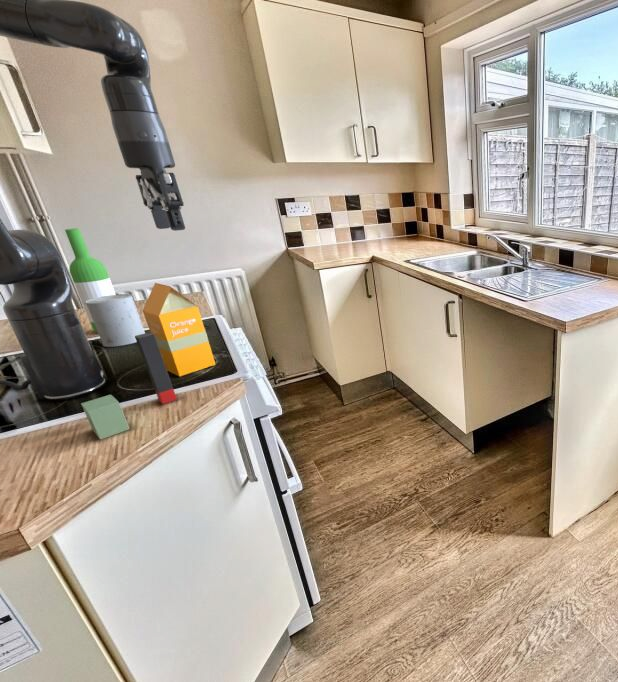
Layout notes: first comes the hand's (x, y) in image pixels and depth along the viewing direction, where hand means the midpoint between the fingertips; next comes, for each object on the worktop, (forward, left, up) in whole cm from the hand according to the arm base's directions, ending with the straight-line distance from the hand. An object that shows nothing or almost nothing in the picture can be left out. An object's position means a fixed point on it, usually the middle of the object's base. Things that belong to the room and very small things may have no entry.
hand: (171, 229), depth 85 cm
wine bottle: (-47, +45, -32) cm, 73 cm away
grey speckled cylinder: (-36, +32, -32) cm, 58 cm away
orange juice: (-8, +6, -32) cm, 34 cm away
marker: (-4, -12, -25) cm, 28 cm away
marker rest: (-8, -22, -32) cm, 40 cm away
